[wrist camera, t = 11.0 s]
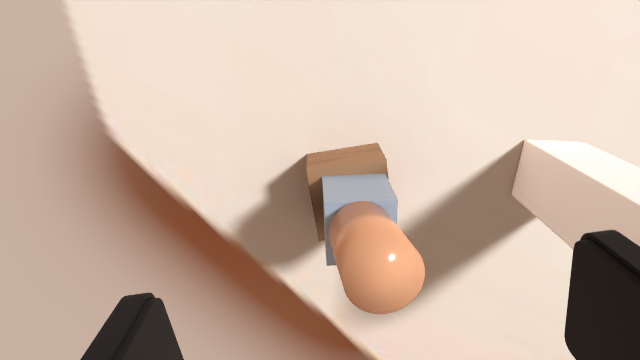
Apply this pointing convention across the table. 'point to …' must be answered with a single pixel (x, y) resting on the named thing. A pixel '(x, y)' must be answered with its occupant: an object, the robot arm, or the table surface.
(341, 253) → the terracotta capsule
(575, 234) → the milk
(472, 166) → the table surface
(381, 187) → the slate blue cube
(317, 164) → the walnut base block
